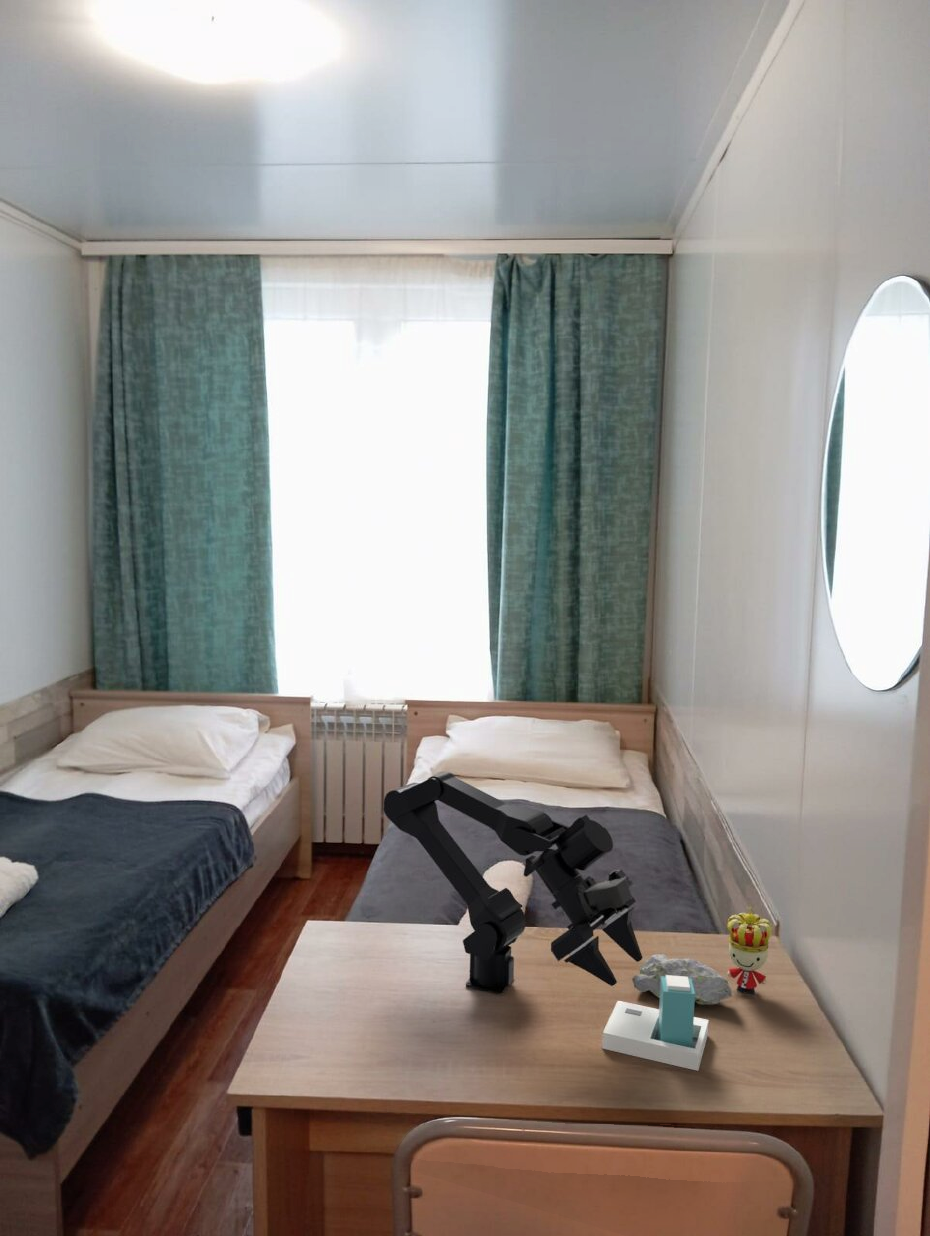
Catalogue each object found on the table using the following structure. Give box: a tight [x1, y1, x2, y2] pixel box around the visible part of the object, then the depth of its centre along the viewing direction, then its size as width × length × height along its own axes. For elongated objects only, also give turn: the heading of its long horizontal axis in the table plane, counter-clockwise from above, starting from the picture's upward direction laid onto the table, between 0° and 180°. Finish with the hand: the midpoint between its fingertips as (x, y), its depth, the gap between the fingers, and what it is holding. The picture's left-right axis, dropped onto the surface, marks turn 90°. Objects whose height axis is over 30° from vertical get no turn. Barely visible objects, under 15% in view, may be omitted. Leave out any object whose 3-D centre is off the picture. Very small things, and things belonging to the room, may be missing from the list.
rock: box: [632, 953, 733, 1006], centre depth 156 cm, size 16×7×7 cm, turn 65°
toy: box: [726, 904, 773, 996], centre depth 158 cm, size 7×7×15 cm
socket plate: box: [601, 1000, 709, 1072], centre depth 143 cm, size 14×10×3 cm
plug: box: [658, 975, 696, 1048], centre depth 141 cm, size 4×4×10 cm
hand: (627, 972), depth 145 cm, fingers open, 9 cm apart
